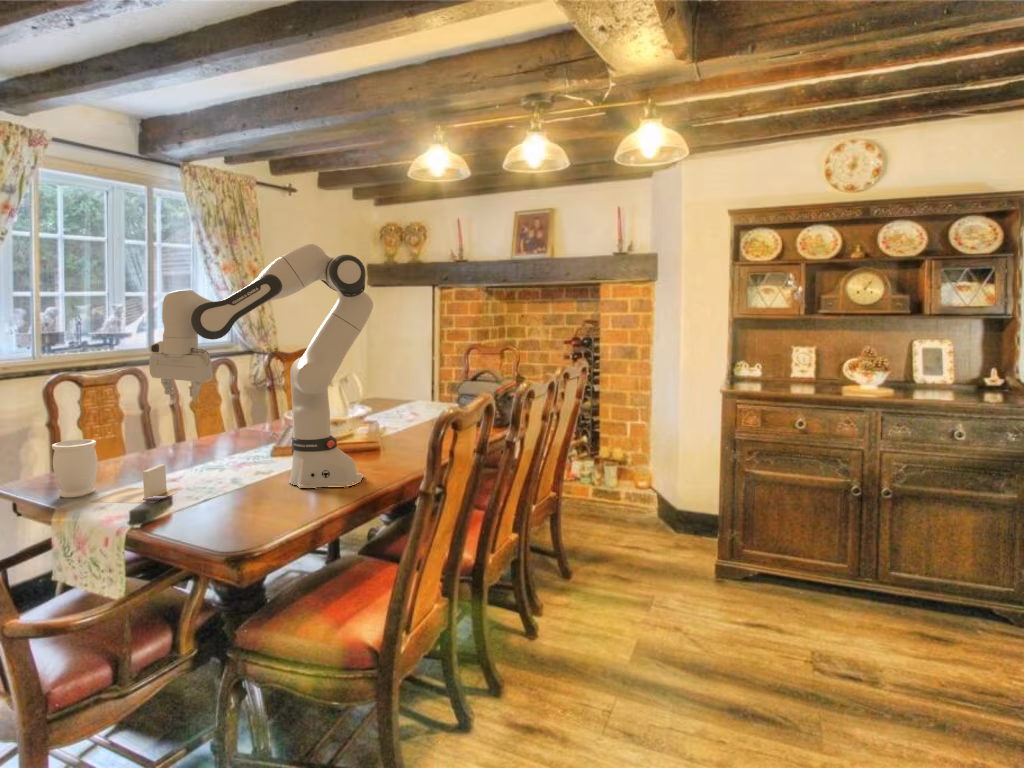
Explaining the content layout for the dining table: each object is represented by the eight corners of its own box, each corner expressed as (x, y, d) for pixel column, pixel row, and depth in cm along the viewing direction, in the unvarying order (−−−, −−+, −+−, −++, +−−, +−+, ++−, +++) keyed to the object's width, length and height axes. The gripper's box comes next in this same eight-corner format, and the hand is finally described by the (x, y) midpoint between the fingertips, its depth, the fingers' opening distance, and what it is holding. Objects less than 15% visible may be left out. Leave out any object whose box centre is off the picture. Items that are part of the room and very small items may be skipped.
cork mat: (183, 490, 183) (183, 488, 183) (155, 505, 169) (154, 503, 169) (123, 489, 184) (123, 487, 184) (90, 504, 170) (89, 502, 170)
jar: (73, 488, 184) (70, 438, 183) (107, 488, 184) (104, 439, 182) (45, 499, 174) (41, 446, 172) (82, 499, 173) (78, 447, 172)
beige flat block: (166, 491, 180) (165, 464, 179) (150, 499, 172) (148, 471, 171) (160, 491, 180) (159, 464, 179) (143, 499, 172) (142, 471, 171)
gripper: (218, 348, 176) (218, 397, 178) (163, 345, 183) (164, 391, 185) (200, 349, 170) (200, 399, 172) (144, 345, 177) (145, 394, 179)
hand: (181, 395), depth 178 cm, fingers open, 8 cm apart
